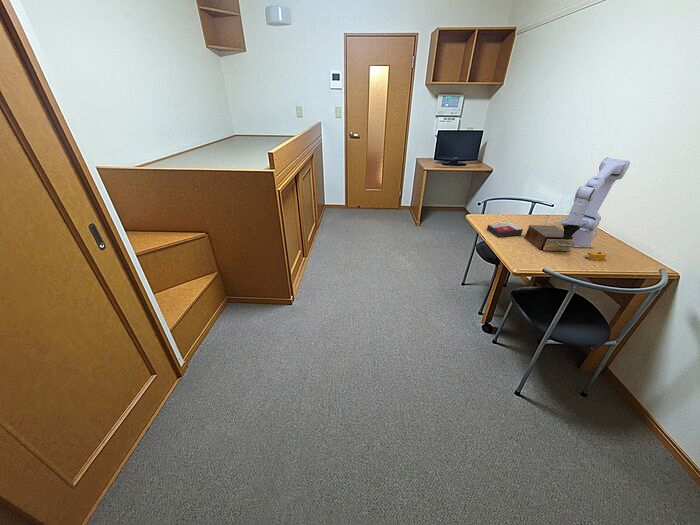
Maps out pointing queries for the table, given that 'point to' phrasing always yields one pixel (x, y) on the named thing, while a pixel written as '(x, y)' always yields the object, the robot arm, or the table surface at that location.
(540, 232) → the cabinet
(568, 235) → the robot arm
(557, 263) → the table surface
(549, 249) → the drawer
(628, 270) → the table surface
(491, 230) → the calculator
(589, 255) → the box cutter
